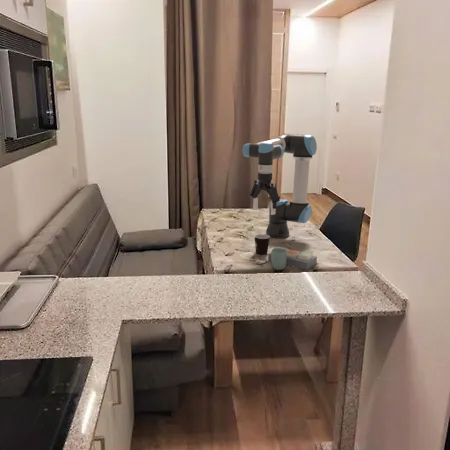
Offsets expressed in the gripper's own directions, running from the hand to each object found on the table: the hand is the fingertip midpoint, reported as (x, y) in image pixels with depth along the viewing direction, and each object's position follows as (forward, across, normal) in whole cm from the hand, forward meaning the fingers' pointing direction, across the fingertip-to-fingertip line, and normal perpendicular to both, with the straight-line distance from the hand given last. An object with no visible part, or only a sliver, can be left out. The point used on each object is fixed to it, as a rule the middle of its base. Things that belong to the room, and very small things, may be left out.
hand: (264, 212), depth 241 cm
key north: (+25, +21, +11) cm, 34 cm away
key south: (+24, +7, +7) cm, 26 cm away
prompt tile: (+26, +4, -5) cm, 27 cm away
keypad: (+26, +14, +8) cm, 31 cm away
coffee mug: (+27, -8, +7) cm, 29 cm away
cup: (+27, +16, -4) cm, 32 cm away
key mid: (+25, +14, +9) cm, 30 cm away
